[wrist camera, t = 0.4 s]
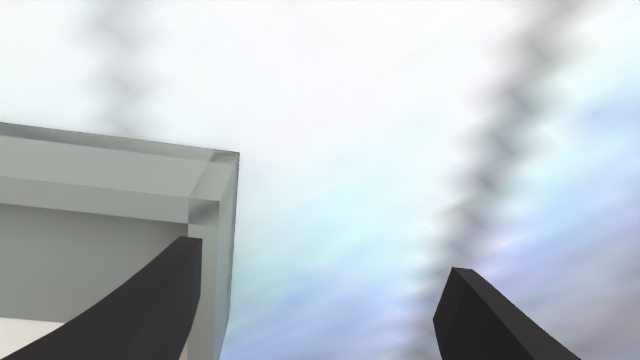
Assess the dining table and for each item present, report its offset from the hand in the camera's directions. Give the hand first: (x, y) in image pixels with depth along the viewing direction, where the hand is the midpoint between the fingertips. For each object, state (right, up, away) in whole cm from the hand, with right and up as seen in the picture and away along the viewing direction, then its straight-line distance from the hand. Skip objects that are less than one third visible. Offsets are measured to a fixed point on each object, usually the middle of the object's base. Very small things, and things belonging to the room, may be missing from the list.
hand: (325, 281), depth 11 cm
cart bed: (-13, 0, +10) cm, 17 cm away
